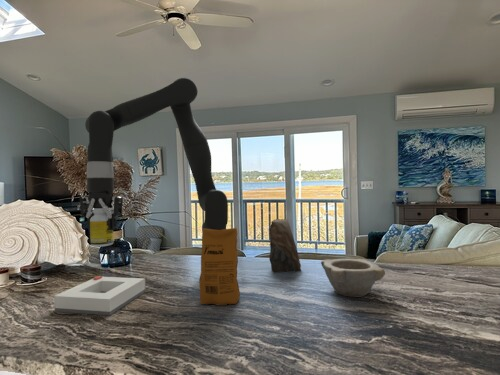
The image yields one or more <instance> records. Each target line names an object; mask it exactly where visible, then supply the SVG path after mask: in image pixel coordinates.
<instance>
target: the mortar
mask: <svg viewBox="0 0 500 375" xmlns="http://www.w3.org/2000/svg"><path fill="white" fill-rule="evenodd" d="M320 265H321V266H322V268H323V270H324V272H325V275H326V276H327V279H328V281H329V283H330V285H331V286H332V288H333V290H334V291H335V292H336V293H337V294H338V295H341V296H344V297H350V298H361V297H365V296H366V295H367V294H369V292H370V291H371V289H372V287H373V286H374V285H375V283H376V282H377V281H380V280H382V279H383V278H384V276H385V275H386V271H385V270H384V268H382V267H380V265H378V264H376V263H375V262H373V261H369V260H368V259H364V258H336V259H335V258H334V259H330V258H329V259H322V260H321V261H320Z"/></svg>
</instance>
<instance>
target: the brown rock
mask: <svg viewBox="0 0 500 375" xmlns="http://www.w3.org/2000/svg"><path fill="white" fill-rule="evenodd" d="M295 241H296V240H295V239H294V236H293V232H292V229H291V227H290V223H289V221H288V219H287V218H286V217H285V218H282V219H280V218H275V219H273V220H272V221H271V224H270V226H269V246H270V247H269V248H270V250H269V252H270V253H269V256H268V257H269V259H268V260H269V262H270V263H269V264H270V266H271V271H272V272H273V273H277V274H278V273H286V272H287V273H289V272H291V273H292V272H301V271H302V268H301V267H302V265H301V260H300V257H299V252H298V249H297V244H296V242H295Z"/></svg>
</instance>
